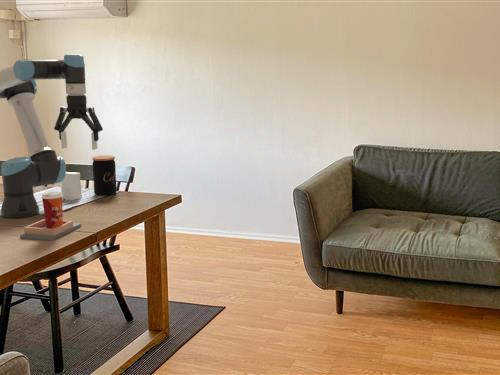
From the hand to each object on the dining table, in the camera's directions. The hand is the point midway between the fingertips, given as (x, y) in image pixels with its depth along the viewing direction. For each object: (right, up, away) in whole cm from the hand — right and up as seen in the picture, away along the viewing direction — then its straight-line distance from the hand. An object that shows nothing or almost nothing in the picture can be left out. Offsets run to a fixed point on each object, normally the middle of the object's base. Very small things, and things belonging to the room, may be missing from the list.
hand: (79, 148), depth 244 cm
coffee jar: (-2, -19, +52) cm, 56 cm away
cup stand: (-7, -32, -14) cm, 36 cm away
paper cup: (-5, -31, -16) cm, 35 cm away
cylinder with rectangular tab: (-16, -21, +44) cm, 51 cm away
